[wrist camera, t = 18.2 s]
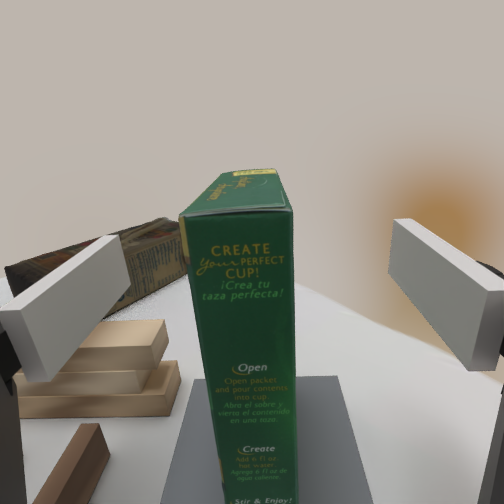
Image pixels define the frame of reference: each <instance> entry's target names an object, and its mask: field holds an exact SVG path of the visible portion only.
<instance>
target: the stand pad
mask: <svg viewBox="0 0 504 504" xmlns="http://www.w3.org/2000/svg"><path fill="white" fill-rule="evenodd" d="M296 414H297V447H298V482H299V504H373V500H372V497H371V493H370V490H369V486H368V483H367V479H366V476H365V472H364V468H363V465H362V461H361V458H360V454H359V451H358V447H357V444H356V440H355V437H354V433H353V430H352V426H351V423H350V419H349V415H348V412H347V408H346V405H345V401H344V398H343V394H342V391H341V387H340V384H339V380H338V377H337V376H305V377H296ZM160 504H225V501H224V493H223V489H222V478H221V472H220V466H219V459H218V454H217V447H216V441H215V435H214V429H213V423H212V417H211V410H210V403H209V398H208V392H207V385H206V379H194V383H193V386H192V390H191V394H190V397H189V401H188V404H187V408H186V412H185V415H184V419H183V422H182V426H181V430H180V433H179V437H178V440H177V444H176V448H175V451H174V455H173V458H172V462H171V466H170V469H169V473H168V477H167V480H166V484H165V487H164V491H163V495H162V498H161V502H160Z"/></svg>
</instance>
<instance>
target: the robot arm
mask: <svg viewBox="0 0 504 504" xmlns="http://www.w3.org/2000/svg"><path fill="white" fill-rule="evenodd" d="M388 273H389V275H390V276H391V277H392V278H393V279H394V281H395V282H396V283H397V284H398V286H399V287H400V288H401V289H402V291H403V292H404V293H405V294H406V295H407V297H408V298H409V299H410V300H411V301H412V303H413V304H414V305H415V306H416V308H417V309H418V310H419V311H420V313H422V315H423V316H424V318H425V319H426V320H427V321H428V322H429V324H430V325H431V326H432V327H433V329H434V330H435V331H436V332H437V333H438V334H439V336H440V337H441V338H442V340H443V341H444V342H445V343H446V345H447V346H448V347H449V348H450V349H451V351H452V352H453V353H454V354H455V356H456V357H457V358H458V359H459V360H460V362H461V363H462V364H463V365H464V367H465V368H466V369H467V370H468V371H495V369H496V366H497V362H498V359H499V356H500V354H501V355H502V356H503V357H504V275H503V273H502V272H500V271H498V270H497V269H495V268H493V267H492V266H490V265H487V264H484V263H482V262H479V261H474V260H473V259H471V258H470V257H468V256H467V255H465V254H464V253H462V252H461V251H459V250H457V249H456V248H455V247H453V246H452V245H450V244H449V243H447V242H446V241H444V240H443V239H441V238H440V237H438V236H437V235H435V234H433V233H432V232H431V231H429V230H428V229H426V228H424V227H423V226H421V225H420V224H418V223H417V222H415V221H414V220H412V219H410V218H409V219H394V222H393V231H392V240H391V250H390V259H389V270H388ZM130 285H131V282H130V278H129V274H128V270H127V266H126V262H125V258H124V254H123V250H122V246H121V242H120V238H119V235H105V236H102V237H101V238H99V239H98V240H96V241H95V242H94V243H92V244H91V245H89V246H88V247H86V248H85V249H84V250H82V251H81V252H79V253H78V254H76V255H75V256H74V257H72V258H71V259H69V260H68V261H66V262H65V263H63V264H62V265H61V266H59V267H58V268H56V269H55V270H53V271H52V272H51V273H49V274H48V275H46V276H45V277H43V278H42V279H41V280H39V281H38V282H36V283H35V284H33V285H32V286H31V287H29V288H28V289H26V290H25V291H23V292H22V293H21V294H19V295H18V296H16V297H15V298H13V299H12V300H10V301H9V302H8V303H6V304H5V305H3V306H2V307H0V504H27V497H26V485H25V474H24V463H23V451H22V440H21V429H20V417H19V406H18V395H17V385H16V383H15V381H14V379H13V376H14V375H15V374H16V373H17V372H18V371H19V370H20V369H21V368H22V371H23V373H24V375H25V377H26V379H27V382H50V381H51V380H52V379H53V378H54V376H55V375H56V374H57V373H58V372H59V370H60V369H61V368H62V367H63V366H64V364H65V363H66V362H67V361H68V360H69V358H70V357H71V356H72V355H73V354H74V352H75V351H76V350H77V349H78V348H79V346H80V345H81V344H82V343H83V342H84V340H85V339H86V338H87V337H88V336H89V334H90V333H91V332H92V331H93V330H94V328H95V327H96V326H97V325H98V324H99V322H100V321H101V320H102V319H103V317H104V316H105V315H106V314H107V313H108V311H109V310H110V309H111V308H112V307H113V305H114V304H115V303H116V302H117V301H118V299H119V298H120V297H121V296H122V295H123V293H124V292H125V291H126V290H127V289H128V287H129V286H130ZM501 394H502V398H501V402H500V407H499V411H498V415H497V420H496V424H495V429H494V433H493V437H492V442H491V446H490V451H489V455H488V459H487V464H486V468H485V473H484V477H483V481H482V486H481V490H480V495H479V499H478V503H477V504H504V385H503V388H502V391H501Z"/></svg>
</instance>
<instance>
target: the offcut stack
mask: <svg viewBox="0 0 504 504" xmlns="http://www.w3.org/2000/svg"><path fill="white" fill-rule="evenodd" d="M168 343H169V339H168V334H167V329H166V325H165V320H164V319H157V320H130V321H103V322H99V324H98V325H97V326H96V327H95V328H94V330H93V331H92V332H91V333H90V334H89V336H88V337H87V338H86V339H85V340H84V342H83V343H82V344H81V345H80V346H79V348H78V349H77V350H76V351H75V352H74V354H73V355H72V356H71V357H70V358H69V360H68V361H67V362H66V363H65V364H64V366H63V367H62V368H61V369H60V370H59V372H58V373H57V374H56V375H55V376H54V378H53V379H52V380H51V381H50V382H27V379H26V377H25V375H24V373H23V371H22V368H21V369H20V370H19V371H18V372H17V373H16V374H15V375H14V376H13V379H14V381H15V383H16V385H17V395H18V406H19V417H20V418H72V417H131V416H169V415H170V412H171V409H172V406H173V403H174V400H175V397H176V394H177V391H178V388H179V385H180V382H181V377H180V372H179V367H178V362H177V360H174V361H161V359H162V357H163V354H164V352H165V350H166V347H167V345H168Z"/></svg>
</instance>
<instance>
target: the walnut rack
mask: <svg viewBox="0 0 504 504" xmlns="http://www.w3.org/2000/svg"><path fill="white" fill-rule="evenodd" d="M23 456H24V455H23ZM109 457H110V452H109V450H108V447H107V444H106V441H105V439H104V436H103V433H102V430H101V427H100V425H99V423H95V424H81V425H80V426H79V428H78V430H77V431H76V433H75V435H74V436H73V438H72V440H71V441H70V443H69V444H68V446H67V448H66V449H65V451H64V453H63V454H62V456H61V458H60V459H59V461H58V462H57V464H56V466H55V467H54V469H53V471H52V472H51V474H50V475H49V477H48V479H47V480H46V482H45V484H44V485H43V487H42V489H41V490H40V492H39V493H38V495H37V497H36V498H35V500H34V502H33V503H32V504H88V502H89V499H90V497H91V495H92V493H93V491H94V489H95V487H96V484H97V482H98V480H99V478H100V476H101V474H102V472H103V469H104V467H105V465H106V463H107V461H108V459H109Z"/></svg>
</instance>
